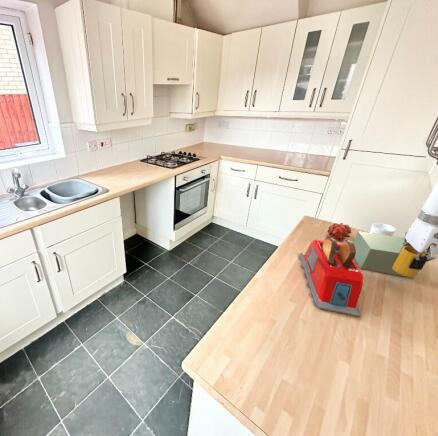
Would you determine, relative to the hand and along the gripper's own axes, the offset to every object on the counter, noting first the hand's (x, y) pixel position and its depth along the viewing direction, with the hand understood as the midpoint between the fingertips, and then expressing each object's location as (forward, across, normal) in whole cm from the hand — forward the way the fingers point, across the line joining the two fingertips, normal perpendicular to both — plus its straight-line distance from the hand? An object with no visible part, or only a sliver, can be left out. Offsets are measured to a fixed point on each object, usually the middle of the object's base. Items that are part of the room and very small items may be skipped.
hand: (409, 261), depth 86 cm
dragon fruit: (+11, +30, +12) cm, 34 cm away
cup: (+4, 0, 0) cm, 4 cm away
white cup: (+11, +29, -3) cm, 31 cm away
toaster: (+11, -7, +24) cm, 27 cm away
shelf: (+11, +14, +1) cm, 18 cm away
